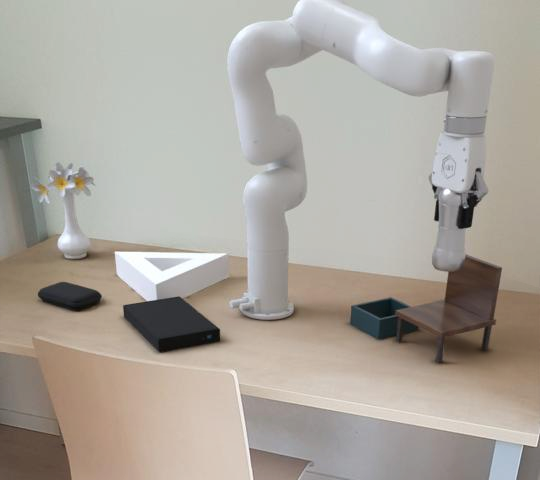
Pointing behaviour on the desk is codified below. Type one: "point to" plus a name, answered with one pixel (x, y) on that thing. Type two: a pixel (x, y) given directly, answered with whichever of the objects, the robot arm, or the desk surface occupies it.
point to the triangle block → (170, 272)
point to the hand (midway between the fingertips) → (452, 223)
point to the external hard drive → (171, 324)
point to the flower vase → (68, 206)
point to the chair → (459, 305)
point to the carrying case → (69, 295)
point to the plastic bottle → (449, 234)
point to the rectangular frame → (379, 317)
